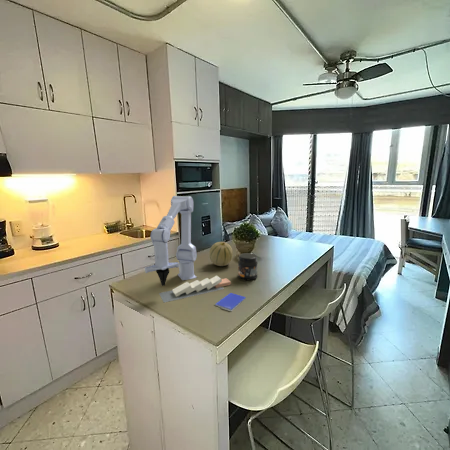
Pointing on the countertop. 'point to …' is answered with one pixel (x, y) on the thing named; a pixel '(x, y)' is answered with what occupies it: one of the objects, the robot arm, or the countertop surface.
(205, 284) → the domino
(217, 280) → the domino
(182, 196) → the robot arm
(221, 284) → the salmon orange end domino
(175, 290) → the domino
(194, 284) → the domino
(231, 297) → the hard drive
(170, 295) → the domino mat
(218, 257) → the beige rounded lump
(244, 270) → the supplement container
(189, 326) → the countertop surface
